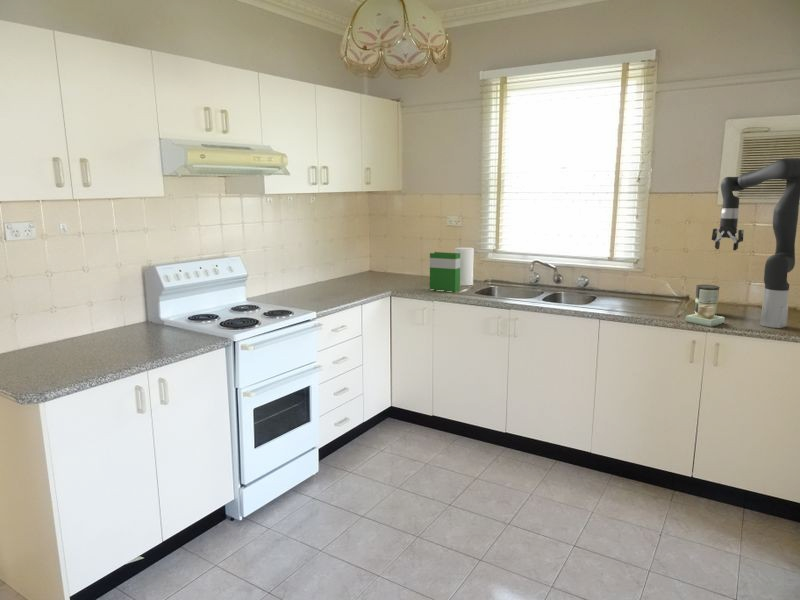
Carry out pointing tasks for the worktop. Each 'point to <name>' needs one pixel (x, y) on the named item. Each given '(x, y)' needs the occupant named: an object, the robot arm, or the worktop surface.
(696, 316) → the tray
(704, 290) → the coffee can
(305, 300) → the worktop surface
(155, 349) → the worktop surface
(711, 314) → the maple block
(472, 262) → the cylinder
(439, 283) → the green cereal box
